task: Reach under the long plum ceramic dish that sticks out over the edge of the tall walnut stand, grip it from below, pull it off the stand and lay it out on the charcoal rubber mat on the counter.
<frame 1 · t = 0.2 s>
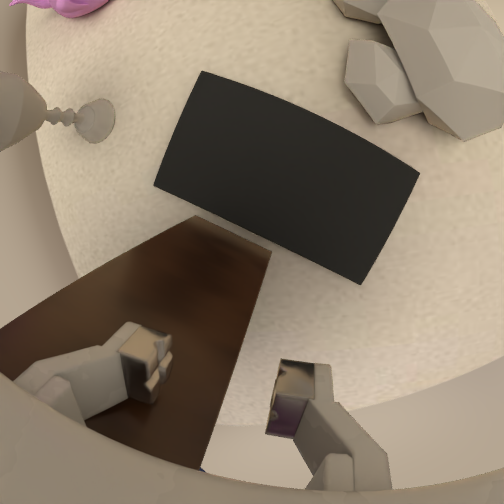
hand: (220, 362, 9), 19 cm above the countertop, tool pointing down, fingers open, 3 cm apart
chalice: (98, 121, 27), on the countertop
rock: (415, 47, 20), on the countertop
charcoal mat: (285, 173, 26), on the countertop
walnut stand: (210, 285, 30), on the countertop
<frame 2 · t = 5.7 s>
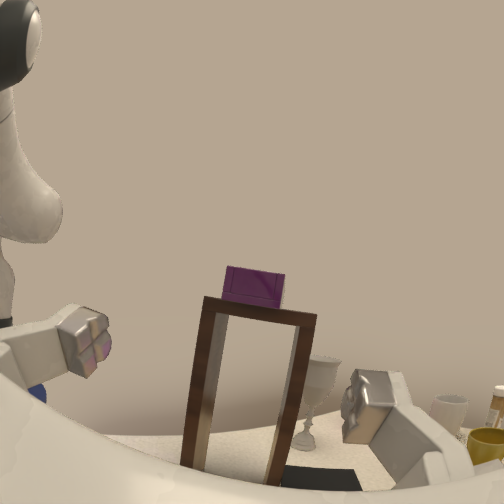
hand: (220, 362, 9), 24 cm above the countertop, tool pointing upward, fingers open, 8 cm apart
mug: (442, 436, 47), on the countertop
sprinkles bottle: (486, 442, 38), on the countertop
chalice: (302, 445, 47), on the countertop
plum dish: (261, 305, 32), point 26 cm above the countertop, touching walnut stand
walnut stand: (229, 488, 30), on the countertop
mustard yellow bowl: (478, 469, 28), on the countertop
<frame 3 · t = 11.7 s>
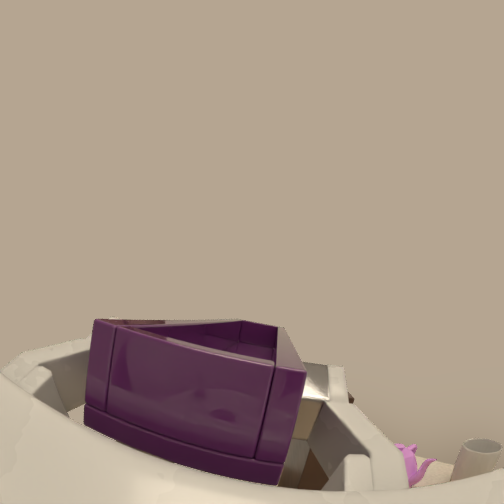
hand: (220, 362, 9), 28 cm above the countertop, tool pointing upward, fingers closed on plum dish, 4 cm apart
mug: (466, 486, 30), on the countertop
plum dish: (239, 372, 15), point 26 cm above the countertop, touching gripper, walnut stand
teapot: (383, 483, 38), on the countertop
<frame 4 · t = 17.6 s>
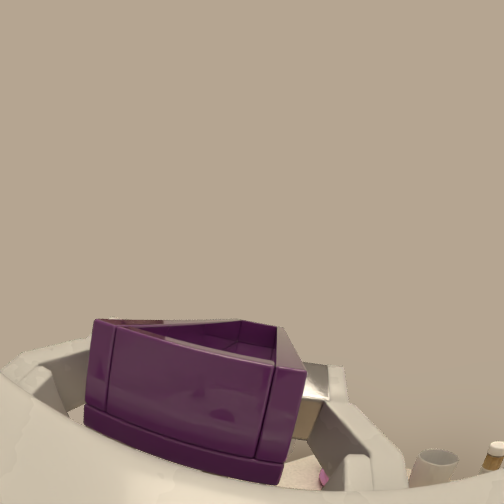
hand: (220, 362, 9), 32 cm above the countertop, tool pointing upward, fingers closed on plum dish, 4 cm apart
mug: (424, 494, 35), on the countertop
sprinkles bottle: (474, 501, 27), on the countertop
plum dish: (238, 372, 15), point 30 cm above the countertop, touching gripper
when the fingers open (17 cm above the countertop, at t = 23.9 s): plum dish drops 15 cm, resting on charcoal mat.
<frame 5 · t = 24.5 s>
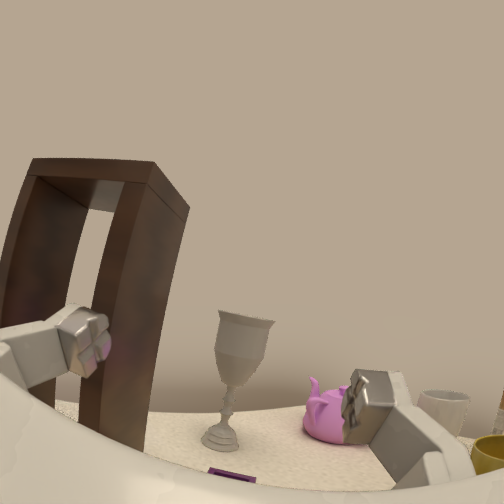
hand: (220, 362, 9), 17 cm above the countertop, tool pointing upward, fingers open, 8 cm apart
mug: (432, 448, 34), on the countertop
sprinkles bottle: (492, 456, 25), on the countertop
chalice: (219, 444, 33), on the countertop
walnut stand: (65, 472, 16), on the countertop
mustard yellow bowl: (485, 498, 15), on the countertop
teapot: (332, 434, 42), on the countertop
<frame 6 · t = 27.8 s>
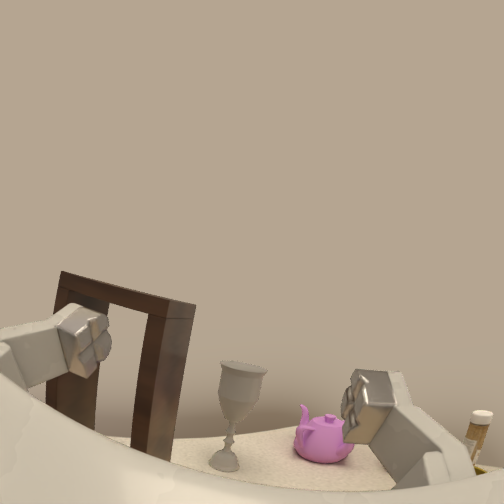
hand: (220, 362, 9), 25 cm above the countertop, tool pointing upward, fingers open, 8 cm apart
sprinkles bottle: (459, 476, 31), on the countertop
chalice: (223, 465, 39), on the countertop
walnut stand: (108, 497, 22), on the countertop
teapot: (319, 453, 48), on the countertop
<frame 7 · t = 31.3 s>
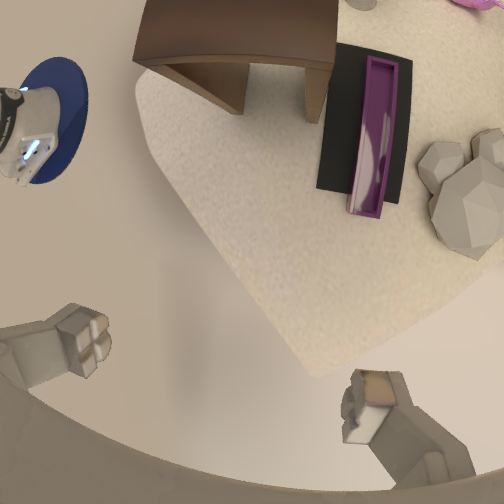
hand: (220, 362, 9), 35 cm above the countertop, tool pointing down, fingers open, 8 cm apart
rock: (468, 188, 35), on the countertop
plum dish: (373, 135, 36), resting on charcoal mat
charcoal mat: (368, 119, 36), on the countertop
walnut stand: (277, 91, 37), on the countertop
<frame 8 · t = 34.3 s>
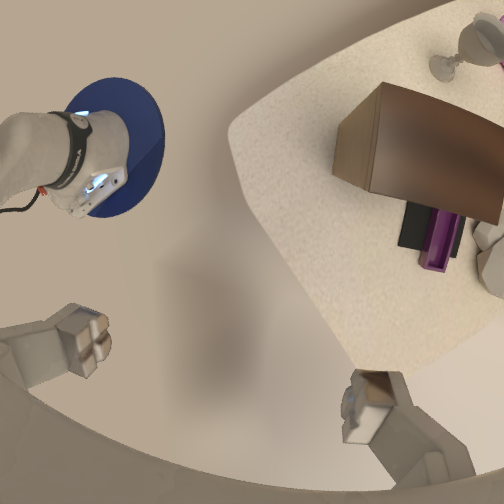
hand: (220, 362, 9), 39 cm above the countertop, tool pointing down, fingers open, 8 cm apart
chalice: (441, 69, 34), on the countertop
plum dish: (444, 202, 40), resting on charcoal mat
charcoal mat: (442, 188, 40), on the countertop
walnut stand: (372, 157, 41), on the countertop
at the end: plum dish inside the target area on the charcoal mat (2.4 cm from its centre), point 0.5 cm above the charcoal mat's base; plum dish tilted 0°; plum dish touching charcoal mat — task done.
